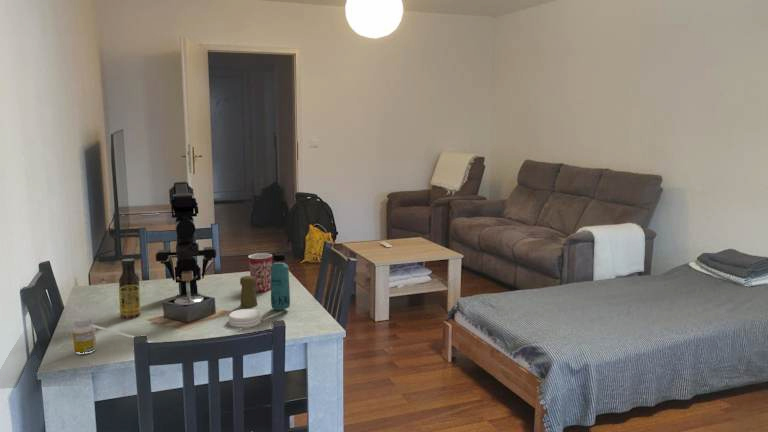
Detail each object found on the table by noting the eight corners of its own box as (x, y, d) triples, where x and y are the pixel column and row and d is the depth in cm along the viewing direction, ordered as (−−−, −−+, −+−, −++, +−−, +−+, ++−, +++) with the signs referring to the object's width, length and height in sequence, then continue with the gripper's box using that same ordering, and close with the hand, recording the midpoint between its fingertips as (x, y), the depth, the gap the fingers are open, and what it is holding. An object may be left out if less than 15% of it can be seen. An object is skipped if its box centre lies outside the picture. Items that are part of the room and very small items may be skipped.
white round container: (234, 318, 190) (233, 308, 190) (264, 318, 190) (263, 308, 189) (224, 329, 180) (224, 318, 180) (256, 329, 180) (255, 318, 179)
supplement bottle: (80, 348, 165) (77, 316, 164) (99, 348, 166) (96, 315, 164) (71, 356, 160) (67, 322, 159) (91, 355, 160) (87, 321, 159)
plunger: (168, 303, 189) (166, 273, 187) (190, 295, 197) (189, 267, 195) (187, 307, 184) (185, 277, 183) (209, 299, 192) (207, 270, 190)
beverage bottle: (272, 308, 200) (269, 252, 196) (291, 307, 200) (289, 251, 197) (270, 314, 193) (267, 256, 190) (290, 313, 194) (287, 255, 191)
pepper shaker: (253, 310, 198) (251, 279, 196) (237, 309, 199) (235, 278, 198) (260, 304, 204) (259, 274, 202) (244, 303, 205) (243, 273, 204)
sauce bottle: (121, 322, 187) (115, 262, 184) (120, 316, 193) (114, 258, 190) (142, 319, 190) (138, 260, 187) (141, 313, 196) (136, 256, 193)
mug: (277, 290, 222) (276, 255, 220) (255, 294, 217) (254, 259, 215) (263, 283, 232) (262, 250, 230) (242, 287, 227) (240, 253, 225)
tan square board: (144, 321, 188) (144, 319, 188) (193, 304, 205) (193, 303, 205) (186, 331, 178) (185, 330, 178) (234, 313, 194) (234, 312, 194)
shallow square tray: (159, 316, 190) (158, 300, 190) (187, 307, 200) (186, 291, 199) (187, 323, 183) (186, 307, 182) (215, 313, 193) (214, 297, 192)
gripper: (151, 239, 180) (155, 287, 182) (213, 235, 184) (216, 283, 186) (156, 233, 190) (160, 279, 193) (215, 230, 195) (218, 275, 197)
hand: (188, 279), depth 192 cm, fingers open, 9 cm apart
